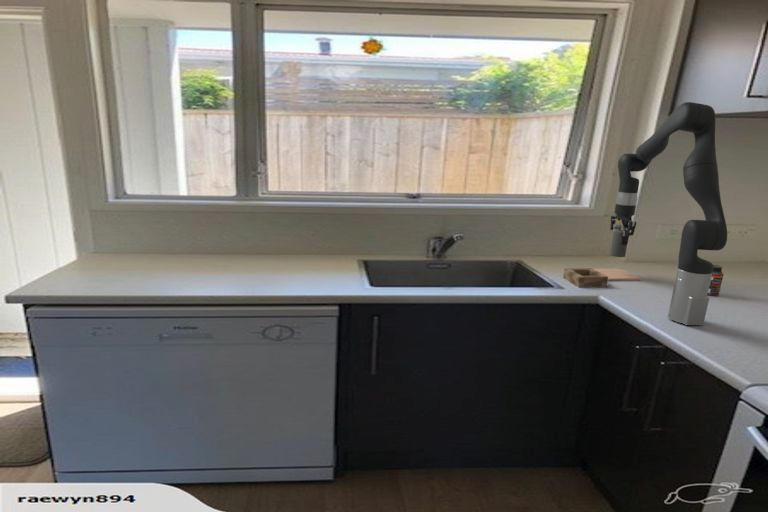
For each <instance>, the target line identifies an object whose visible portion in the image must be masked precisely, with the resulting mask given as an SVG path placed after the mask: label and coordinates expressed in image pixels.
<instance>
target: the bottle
mask: <svg viewBox="0 0 768 512" xmlns="http://www.w3.org/2000/svg"><path fill="white" fill-rule="evenodd" d="M620 222H621V221H618V220H617V224H616V225H615V227H617V229H615V230H614V232H613V231H612V238H611V239H612V240H611V246H610V253H609V255H610V256H611V257H614V258H625V257H626V253H627V248H628V244H627V245H622V244H621V243H622V237H623V231H622V230H621V224H620ZM624 228H628V227H624ZM626 232H627V231H626Z"/></svg>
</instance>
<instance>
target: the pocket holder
mask: <svg viewBox="0 0 768 512" xmlns="http://www.w3.org/2000/svg"><path fill="white" fill-rule="evenodd" d="M594 269H595V268H591V267H590V268H587V267H585V268H581V267H580V268H564V270H563V279H565V280H566V279H567V280H566V281H568V282H569V281H570V283H571V284H572V283H573V284H572V285H574V286H575V287H577V286H578V287H577V288H598V287H599V288H602V287H603V288H605V287H606V288H607V285H608V282H609V281H608V277H607V276H605V275H603V274H601V273H600V272H598V271H596V270H594Z"/></svg>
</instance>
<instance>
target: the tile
mask: <svg viewBox="0 0 768 512" xmlns="http://www.w3.org/2000/svg"><path fill="white" fill-rule="evenodd" d="M593 269H594V270H596V271H598V272H600V273H601V274H603V275H605V276H607V277H608V281H607V282H619V281H620V282H622V281H624V282H625V281H627V282H628V281H630V282H631V281H637V282H638V281H640V280H641V278H640V277H638V276H637V275H634V274H632V273H630V272H628V271H626V270H624V269H621V268H593Z"/></svg>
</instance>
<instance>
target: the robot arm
mask: <svg viewBox="0 0 768 512" xmlns="http://www.w3.org/2000/svg"><path fill="white" fill-rule="evenodd" d="M678 131H683V132H688V133H693V135H694V136H693V137H694V147H693V149H692V151H691V152H690V154H689V155H688V157H687V158H686V160H685V161H684V163H683V167H682V173H683V175H682V176H683V184H684V188H685V189H686V191H687V192H688V194H689V195H690V196H691V197H692V198H693V199H694V201H695V202H696V203H697V204H698V205H699V207H700V208H701V209H702V213H703V214H704V218H705V220H704V219H690V220H687V221H686V223H685V224H684V225H683V228H682V232H681V237H680V246H679V251H678V264H677V269H676V274H675V279H674V283H673V284H674V285H673V289H672V294H671V297H670V298H671V299H670V302H669V303H670V304H669V308H668V309H669V310H668V313H667V318H668V317H669V318H670V319H671V320H670V319H669V318H668V319H669V320H670V321H672V320H674V321H676V322H675V323H677V322H680V323H684V324H686V325H700V326H704V323H705V320H706V319H705V318H706V314H707V310H708V305H709V301H710V297H709V296H708V295H707V294H708V289H709V285H710V280H711V276H712V272H713V265H714V263H712V262H711V261H709V260H706V259H704V258H701V257H700V256H698V250H699V251H701V250H702V251H721V250H722V249H723V248H725V247H726V245H727V242H728V228H727V223H726V219H725V217H726V216H725V213H724V209H723V205H722V200H721V199H722V198H721V191H720V179H719V170H718V169H719V168H718V167H719V166H718V162H717V153H716V152H717V151H716V112H715V109H714V107H713V106H711V105H708V104H703V103H699V102H698V103H697V102H691V101H688V102H687V101H686V102H683V103H681V104H680V105H679V106H677V107H676V108H675V109H674V110H673V111H672V113H670V115H669V116H668V117H667V118H666V119H665V121H663V123H662V124H661V125H660V126H659V128H658V129H657V130H656V131H655V132H654V133H653V134H652V135H651V136H650V137H649V138H648V139H646V140H644V142H643V143H641V144H640V145H639V146H638V147H637V148H636V149H635V153H623V154H622V155H621V156H620V157H619V158H618V162H617V170H618V177H619V185H618V186H619V187H618V191H617V195H616V200H615V206H614V212H613V213H614V214H615V215H612V216H610V231H612V233H613V232H614V230H615V229H617V227H615V225H616V224H617V220H618V221H621V222H620V224H621V230H622V231H623V237H622V243H621V244H622V245H627V246H628V243H629V237H631V236H633V235H634V234H635V231H636V226H637V221H633V220H632V217H634V216H635V214H636V208H637V201H638V194H639V193H638V192H639V187H640V180H639V178H636V177H633V176H632V173H631V172H642V171H644V170H645V169H647V167H648V166H650V165H649V164H651V162H652V161H653V160H654V159H655V158H656V157H657V156H659V155H660V154H661V153H663V152H664V151H665V150H666V148H667V146H668V144H669V142H670V140H669V139H670V136H671V135H673V134H674V133H676V132H678ZM624 227H628V228H624ZM626 231H627V232H626ZM674 321H673V322H674ZM680 323H679V324H680Z"/></svg>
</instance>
